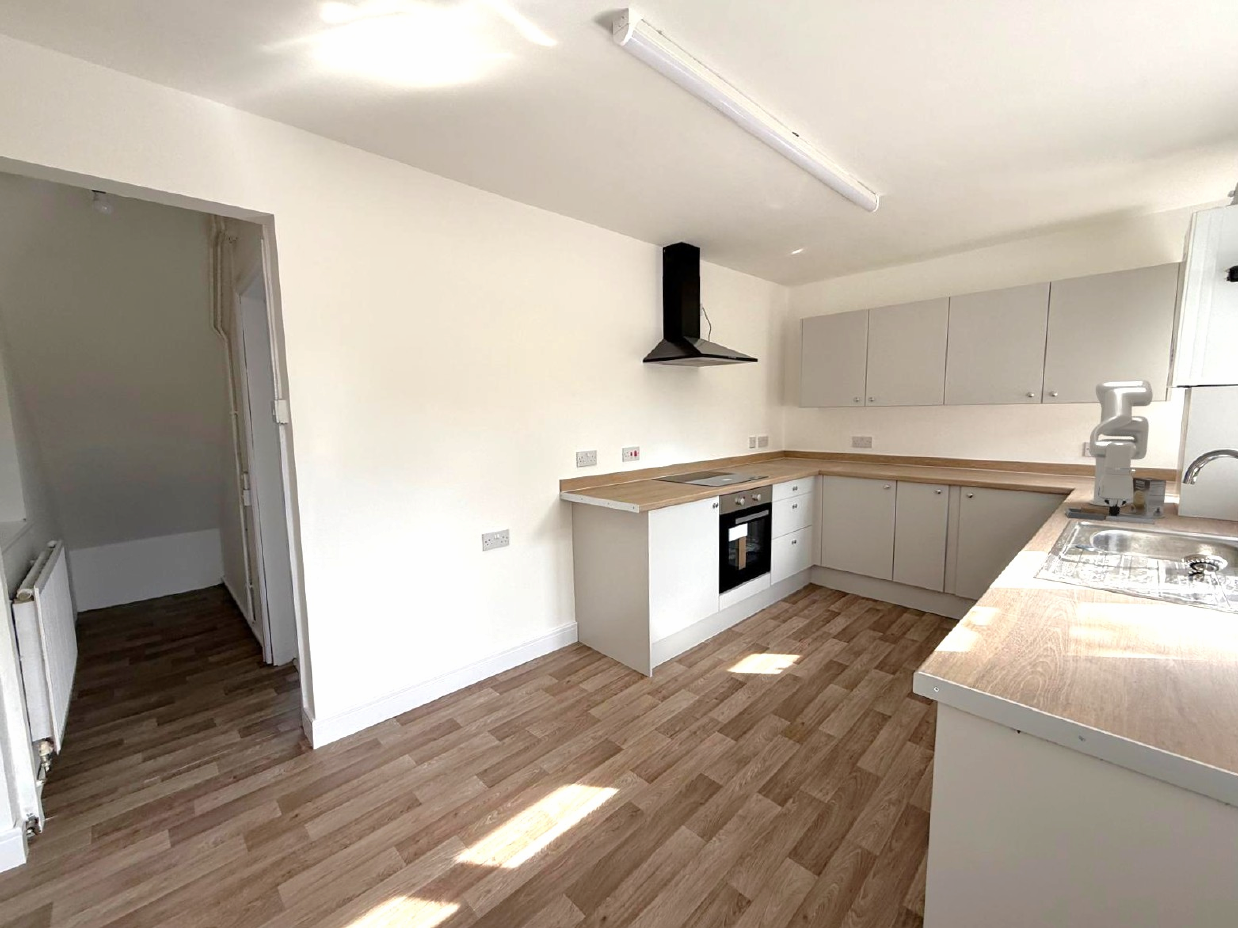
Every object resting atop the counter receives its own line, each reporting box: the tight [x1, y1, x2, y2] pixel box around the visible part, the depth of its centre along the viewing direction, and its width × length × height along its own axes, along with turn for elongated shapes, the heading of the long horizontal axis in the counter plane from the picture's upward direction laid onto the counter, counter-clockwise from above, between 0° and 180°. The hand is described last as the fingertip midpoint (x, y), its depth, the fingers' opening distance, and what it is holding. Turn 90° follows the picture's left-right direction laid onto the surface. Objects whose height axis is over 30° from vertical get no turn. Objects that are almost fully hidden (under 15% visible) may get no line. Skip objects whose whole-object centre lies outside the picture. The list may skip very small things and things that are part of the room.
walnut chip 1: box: [1080, 506, 1096, 514], centre depth 215 cm, size 4×4×4 cm
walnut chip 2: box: [1094, 507, 1109, 520], centre depth 213 cm, size 4×4×4 cm
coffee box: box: [1129, 477, 1167, 519], centre depth 215 cm, size 9×6×16 cm
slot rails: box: [1104, 512, 1156, 525], centre depth 208 cm, size 10×14×2 cm
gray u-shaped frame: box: [1064, 507, 1104, 521], centre depth 216 cm, size 12×11×2 cm
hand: (1113, 515), depth 210 cm, fingers closed
